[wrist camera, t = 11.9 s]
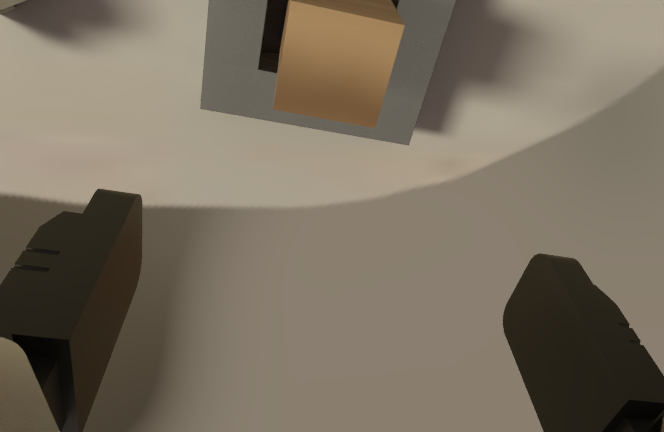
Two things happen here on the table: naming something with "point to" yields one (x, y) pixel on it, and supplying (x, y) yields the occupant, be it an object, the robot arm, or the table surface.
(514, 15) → the table surface
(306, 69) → the wooden square peg
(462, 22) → the table surface
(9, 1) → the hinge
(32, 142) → the table surface
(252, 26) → the collar
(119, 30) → the table surface
